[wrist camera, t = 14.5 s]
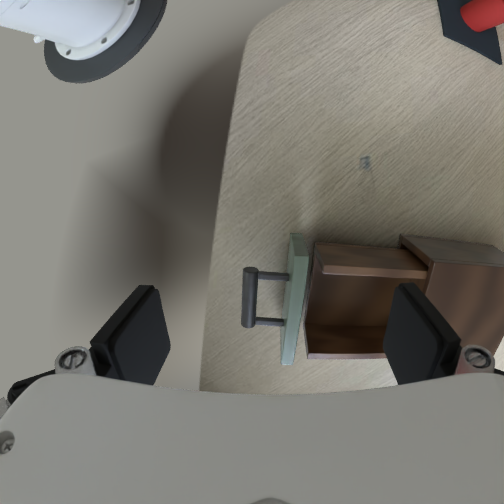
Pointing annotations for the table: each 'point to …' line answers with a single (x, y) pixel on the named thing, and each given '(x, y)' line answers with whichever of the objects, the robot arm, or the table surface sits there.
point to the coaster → (468, 30)
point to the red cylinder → (483, 14)
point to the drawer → (335, 297)
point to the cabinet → (464, 286)
